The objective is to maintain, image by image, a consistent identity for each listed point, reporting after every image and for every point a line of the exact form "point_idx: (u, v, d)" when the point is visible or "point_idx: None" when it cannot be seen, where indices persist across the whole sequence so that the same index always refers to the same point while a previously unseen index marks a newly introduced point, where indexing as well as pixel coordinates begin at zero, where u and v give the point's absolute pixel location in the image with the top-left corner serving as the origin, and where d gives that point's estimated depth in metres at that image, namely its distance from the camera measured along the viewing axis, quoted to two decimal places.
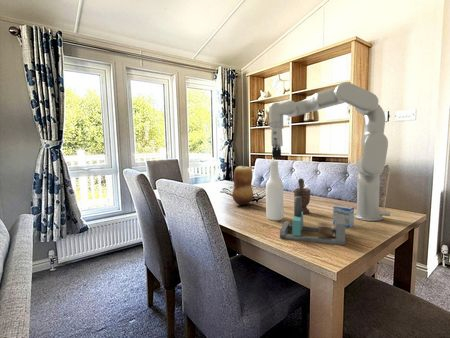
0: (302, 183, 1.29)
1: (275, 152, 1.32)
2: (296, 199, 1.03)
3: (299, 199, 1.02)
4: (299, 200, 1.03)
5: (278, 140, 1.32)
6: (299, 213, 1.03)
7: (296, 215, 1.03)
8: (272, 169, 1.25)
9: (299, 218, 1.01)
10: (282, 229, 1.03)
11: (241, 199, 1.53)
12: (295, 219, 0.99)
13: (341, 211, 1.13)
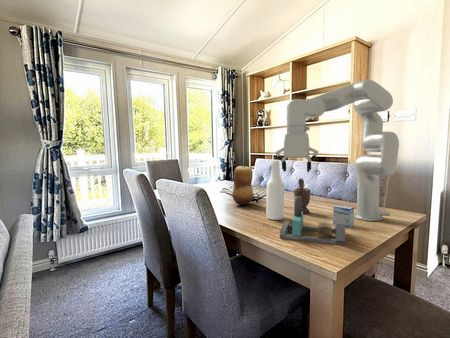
0: (302, 183, 1.29)
1: None
2: (296, 199, 1.03)
3: (299, 199, 1.02)
4: (299, 200, 1.03)
5: None
6: (299, 213, 1.03)
7: (296, 215, 1.03)
8: (273, 168, 1.25)
9: (299, 218, 1.01)
10: (282, 229, 1.03)
11: (241, 199, 1.53)
12: (295, 219, 0.99)
13: (341, 211, 1.13)
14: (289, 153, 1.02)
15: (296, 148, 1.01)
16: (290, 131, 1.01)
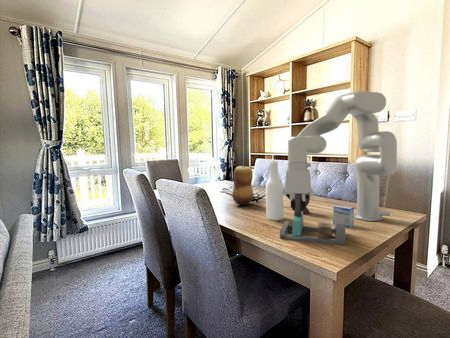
0: None
1: None
2: (296, 199, 1.03)
3: (299, 199, 1.02)
4: (299, 200, 1.03)
5: (310, 185, 1.03)
6: (299, 213, 1.03)
7: (296, 215, 1.03)
8: (272, 169, 1.25)
9: (299, 218, 1.01)
10: (282, 229, 1.03)
11: (241, 199, 1.53)
12: (295, 219, 0.99)
13: (341, 211, 1.13)
14: (291, 189, 1.02)
15: (298, 184, 1.01)
16: (292, 168, 1.00)
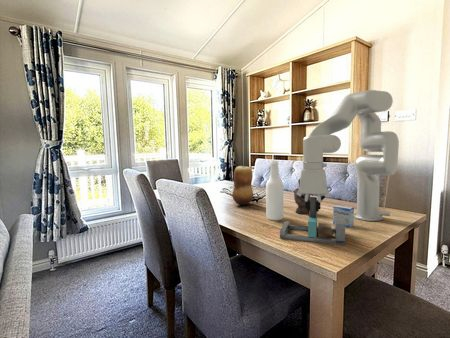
0: None
1: None
2: (311, 200, 1.01)
3: (314, 200, 1.00)
4: (314, 201, 1.00)
5: None
6: (314, 214, 1.01)
7: (311, 216, 1.01)
8: (272, 169, 1.25)
9: (315, 219, 0.99)
10: (282, 229, 1.03)
11: (241, 199, 1.53)
12: (311, 221, 0.97)
13: (341, 211, 1.13)
14: (306, 190, 1.00)
15: (313, 185, 0.99)
16: (307, 168, 0.98)
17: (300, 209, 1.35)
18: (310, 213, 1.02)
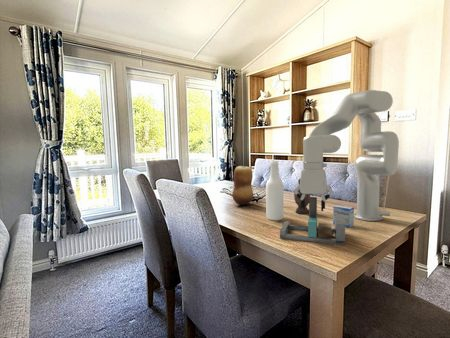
0: None
1: None
2: (311, 200, 1.01)
3: (314, 200, 1.00)
4: (314, 201, 1.00)
5: None
6: (314, 214, 1.01)
7: (311, 216, 1.01)
8: (272, 169, 1.25)
9: (315, 219, 0.98)
10: (282, 229, 1.03)
11: (241, 199, 1.53)
12: (311, 221, 0.97)
13: (341, 211, 1.13)
14: (306, 190, 1.00)
15: (313, 185, 0.99)
16: (307, 168, 0.98)
17: (300, 209, 1.35)
18: (310, 213, 1.02)
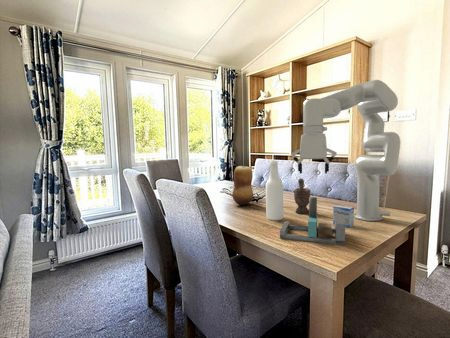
0: (302, 183, 1.29)
1: (328, 166, 0.99)
2: (311, 200, 1.01)
3: (314, 200, 1.00)
4: (314, 201, 1.00)
5: None
6: (314, 214, 1.01)
7: (311, 216, 1.01)
8: (272, 169, 1.25)
9: (315, 219, 0.98)
10: (282, 229, 1.03)
11: (241, 199, 1.53)
12: (311, 221, 0.97)
13: (341, 211, 1.13)
14: (306, 155, 0.99)
15: (313, 149, 0.98)
16: (307, 132, 0.97)
17: (300, 209, 1.35)
18: (310, 213, 1.02)
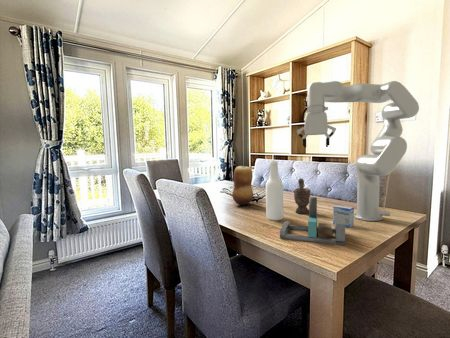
0: (302, 183, 1.29)
1: None
2: (311, 200, 1.01)
3: (314, 200, 1.00)
4: (314, 201, 1.00)
5: None
6: (314, 214, 1.01)
7: (311, 216, 1.01)
8: (272, 169, 1.25)
9: (315, 219, 0.98)
10: (282, 229, 1.03)
11: (241, 199, 1.53)
12: (311, 221, 0.97)
13: (341, 211, 1.13)
14: (310, 131, 1.15)
15: (316, 126, 1.14)
16: (311, 111, 1.13)
17: (300, 209, 1.35)
18: (310, 213, 1.02)
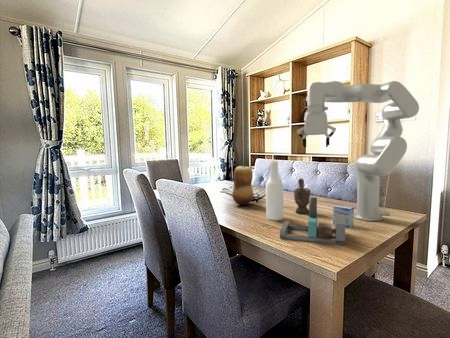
0: (302, 183, 1.29)
1: None
2: (311, 200, 1.01)
3: (314, 200, 1.00)
4: (314, 201, 1.00)
5: None
6: (314, 214, 1.01)
7: (311, 216, 1.01)
8: (272, 169, 1.25)
9: (315, 219, 0.98)
10: (282, 229, 1.03)
11: (241, 199, 1.53)
12: (311, 221, 0.97)
13: (341, 211, 1.13)
14: (310, 131, 1.15)
15: (316, 125, 1.14)
16: (311, 111, 1.13)
17: (300, 209, 1.35)
18: (310, 213, 1.02)
